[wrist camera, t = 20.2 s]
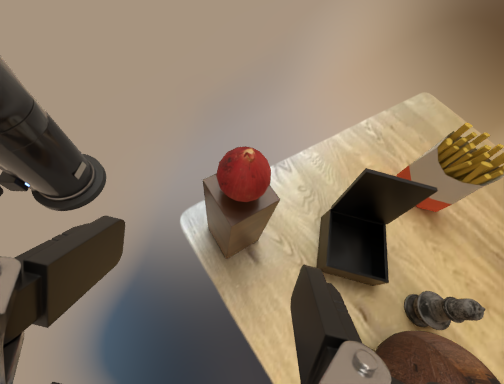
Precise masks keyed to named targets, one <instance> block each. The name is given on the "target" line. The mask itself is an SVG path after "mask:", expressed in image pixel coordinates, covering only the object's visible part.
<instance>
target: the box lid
mask: <svg viewBox="0 0 504 384" xmlns="http://www.w3.org/2000/svg"><path fill="white" fill-rule="evenodd" d="M437 191H438V190H437V187H433V186H429V185H426V184H422V183H418V182H415V181H411V180H407V179H403V178H400V177H396V176H392V175H389V174H385V173H381V172H378V171H374V170H370V169H367V168H366V169H365V170H364V171H363V172H362V173H361V174H360V175H359V176H358V178H357V179H356V180H355V181H354V182H353V183H352V184H351V185H350V186H349V188H348V189H347V190H346V191H345V192H344V193H343V194H342V195H341V196H340V197H339V199H338V200H337V201H336V202H335V203H334V204H333V205H332V207H331V209H332V210H336V211H340V212H343V213H347V214H351V215H354V216H358V217H362V218H366V219H369V220H373V221H377V222H380V223H384V224H388V223H390V222H392V221H393V220H395V219H396V218H398V217H399V216H401V215H402V214H404V213H405V212H407V211H408V210H410V209H411V208H413V207H414V206H416V205H418V204H419V203H421V202H422V201H424V200H425V199H427V198H428V197H430V196H431V195H433V194H434V193H436V192H437Z"/></svg>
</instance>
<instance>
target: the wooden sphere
mask: <svg viewBox="0 0 504 384" xmlns="http://www.w3.org/2000/svg"><path fill="white" fill-rule="evenodd" d="M375 353H376V354H377V355H378V356H379V357H380V358H381V359H382V360H383V362H384V363H385V364H386V366H387V368H388V370H389V372H390V375H391V376H392V377H394V378H395V379H397V380H399V381H401V382H403V383H405V384H426V383H427V382H437V383H440V384H501V383H500V382H499V381H498V380H497V378H496V377H495V376H494V375H493V373H492V372H491V371H490V370H489V369H488V368H487V367H486V366H485V365H484V364H483V363H482V362H481V361H480V360H479V359H478V358H476V357H475V356H474V355H473V354H471V353H470V352H469V351H467V350H466V349H464V348H463V347H461V346H460V345H458V344H456V343H455V342H453V341H451V340H449V339H447V338H444V337H442V336H439V335H436V334H433V333H429V332H424V331H404V332H400V333H397V334H394V335H392V336H390V337H389V338H387V339H386V340H384V341H383V342H382V343H381V344H380V346H379V347H378V348H377V350H376V351H375Z"/></svg>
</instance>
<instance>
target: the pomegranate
mask: <svg viewBox="0 0 504 384" xmlns="http://www.w3.org/2000/svg"><path fill="white" fill-rule="evenodd" d="M216 177H217V180H218V183H219V187H220V189H221V190H222V191H223V192H224V193H225V194H226V195H227V196H228V197H230V198H232V199H234V200H236V201H241V202H249V201H253V200H256V199H258V198H259V197H261V196H262V195H264V193H265V192H266V190H267V188H268V186H269V184H270V178H271V169H270V166H269V164H268V161H267V159H266V158H265V157H264V156H263V155H262V154H261V153H260V152H259V151H258V150H256V149H254V148H250V147H237V148H235V149H233V150H231V151H229V152H227V153H226V155H225V156H224V157H223V159H222V160H221V161H220V162H219V166H218V170H217V175H216Z"/></svg>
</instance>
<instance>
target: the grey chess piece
mask: <svg viewBox="0 0 504 384" xmlns="http://www.w3.org/2000/svg"><path fill="white" fill-rule="evenodd" d="M404 308H405V312H406V314H407V316H408V318H409V319H410V320H411V321H412V322H413V323H414V324H416V325H417V326H420V327H426V326H430V327H432V328H434V329H436V330H444V329H446V328H448V327H449V325H450V323H451V320H452V321H454V322H456V323H462V322H463V321H465V320H480V319H482V317H483V315H484V311H485V308H483V307H482V306H481V305H480V304H479V303H478V302H476V301H475V300H473V299H456V298H453V297H447V298H445V299H443V298H442V297H440V296H439V295H438V294H436V293H434V292H431V291H425V292H422V293H421V294H420V295H416V294H412V295H409V296H408V297H407V298H406V299H405V302H404Z"/></svg>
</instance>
